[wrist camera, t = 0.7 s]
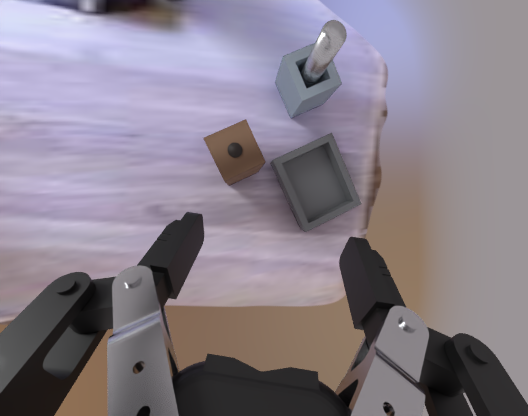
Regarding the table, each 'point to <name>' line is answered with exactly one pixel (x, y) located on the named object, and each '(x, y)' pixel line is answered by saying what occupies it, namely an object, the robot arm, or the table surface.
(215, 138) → the walnut block
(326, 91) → the square socket block
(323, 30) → the cylinder
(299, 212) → the tray
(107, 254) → the table surface
